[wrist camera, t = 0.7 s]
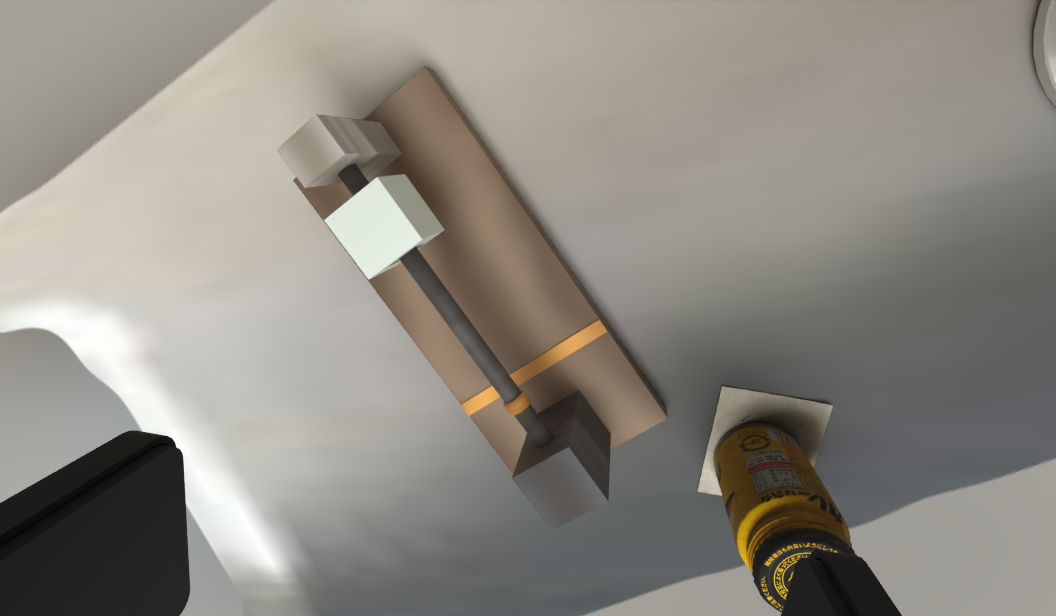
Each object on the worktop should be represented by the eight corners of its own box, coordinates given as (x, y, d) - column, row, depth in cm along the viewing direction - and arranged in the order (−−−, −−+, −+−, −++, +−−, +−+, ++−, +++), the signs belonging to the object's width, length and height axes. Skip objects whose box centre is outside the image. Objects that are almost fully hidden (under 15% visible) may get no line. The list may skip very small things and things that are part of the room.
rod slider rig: (432, 70, 36) (370, 42, 27) (666, 409, 40) (679, 484, 31) (304, 179, 40) (211, 187, 31) (531, 482, 43) (506, 569, 34)
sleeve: (404, 174, 33) (376, 177, 30) (444, 229, 34) (422, 239, 30) (356, 212, 34) (323, 220, 31) (396, 265, 35) (368, 279, 31)
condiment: (697, 489, 41) (726, 618, 30) (721, 385, 39) (762, 481, 28) (799, 509, 40) (870, 649, 29) (831, 403, 38) (921, 510, 27)
